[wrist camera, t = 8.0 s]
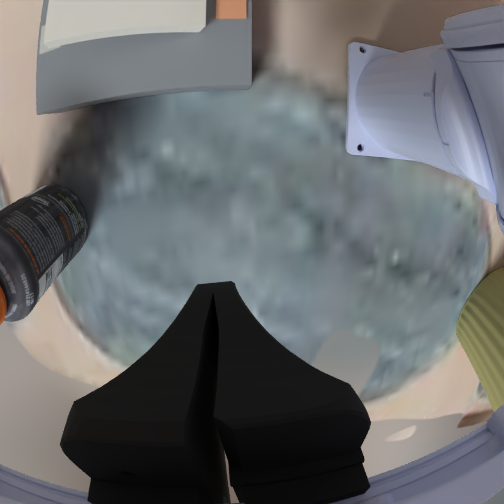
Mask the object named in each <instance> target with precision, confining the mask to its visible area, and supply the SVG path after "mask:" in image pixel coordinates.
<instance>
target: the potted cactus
mask: <svg viewBox="0 0 504 504" xmlns="http://www.w3.org/2000/svg"><path fill="white" fill-rule="evenodd" d="M456 332H457V336H458V338H459V341H460V343H461V345H462V347H463V349H464V351H465V352H466V354H467V356H468V358H469V360H470V362H471V364H472V366H473V368H474V370H475V372H476V374H477V376H478V378H479V380H480V382H481V384H482V386H483V388H484V390H485V393H486V395H487V397H488V399H489V402H490V404H491V406H492V408H493V411H494V412H495V411H496V410H497V409H498V408H499V407H501V406H502V405H503V404H504V267H502V268H499V269H497V270H495V271H493V272H492V273H490V274H489V275H488V276H487V277H485V278H484V279H483V280H482V281H481V283H480V284H479V285H478V286H477V287H476V288H475V290H474V291H473V292H472V294H471V295H470V297H469V298H468V300H467V301H466V303H465V305H464V307H463V309H462V311H461V313H460V316H459V319H458V322H457V328H456Z"/></svg>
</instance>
